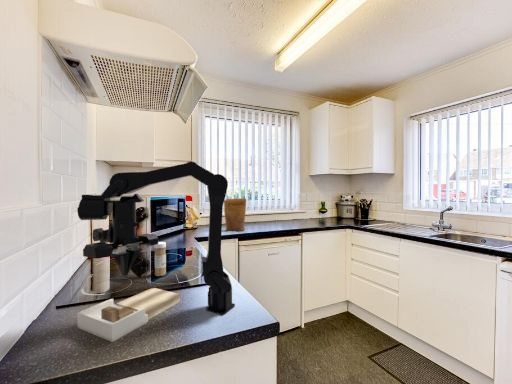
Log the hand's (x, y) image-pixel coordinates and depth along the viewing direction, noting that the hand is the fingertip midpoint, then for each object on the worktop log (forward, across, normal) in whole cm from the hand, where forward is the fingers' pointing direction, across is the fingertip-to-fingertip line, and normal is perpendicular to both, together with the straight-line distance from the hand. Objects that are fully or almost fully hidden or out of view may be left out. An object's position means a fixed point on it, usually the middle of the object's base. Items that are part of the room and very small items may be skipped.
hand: (124, 275), depth 69 cm
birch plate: (+12, -8, 0) cm, 14 cm away
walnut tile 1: (+9, +3, 0) cm, 10 cm away
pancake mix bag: (+12, -139, -49) cm, 147 cm away
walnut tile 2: (+11, +1, 0) cm, 11 cm away
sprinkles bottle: (+12, -30, -20) cm, 38 cm away
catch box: (+12, +4, 0) cm, 12 cm away
